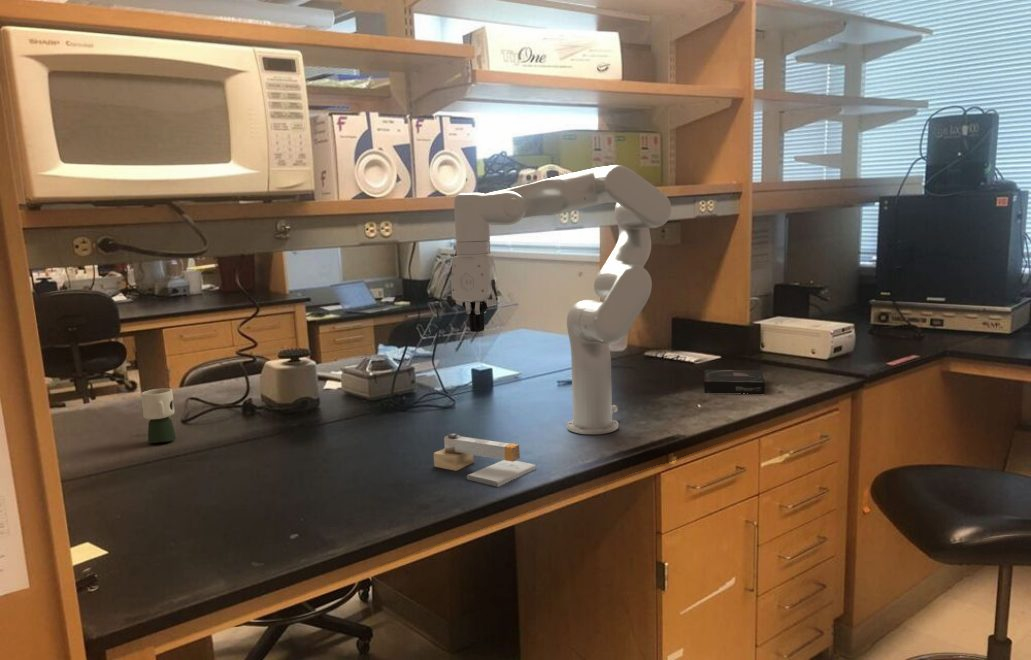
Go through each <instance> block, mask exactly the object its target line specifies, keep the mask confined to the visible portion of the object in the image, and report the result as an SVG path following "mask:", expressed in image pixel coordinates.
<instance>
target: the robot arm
mask: <svg viewBox="0 0 1031 660" xmlns="http://www.w3.org/2000/svg"><path fill="white" fill-rule="evenodd" d="M670 201H671V200H670V199H669V198H668V196H667V195H666V194H665V193H664V192H663V191H661V190H660V189H659V188H657V186H655V185H653V184H652V183H651V182H650V181H648V180H646V179H645V178H643V176H641V175H639V174H638V173H636V172H635V171H634V170H632V169H630V168H628V167H627V166H625V165H621V164H613V165H608V166H600V167H594V168H590V169H584V170H580V171H576V172H571V173H566V174H563V175H558V176H554V177H550V178H546V179H541V180H538V181H535V182H531V183H527V184H523V185H519V186H514V187H509V188H506V189H501V190H497V191H491V192H488V193H483V192H482V193H481V192H471V193H470V192H468V193H467V192H466V193H459V194H457V195H455V197H454V200H453V208H454V227H455V244H454V245H453V250H454V251H456V256H455V255H454V256H453V259H452V266H451V267H452V268H451V281H450V282H451V284H450V285H451V286H450V287H451V297H452V299H453V300H455V303H456V305H459V306H461V307H463V308H464V309H465V311H466V314H467V315H468V317H469V319H468V320H469V330H470V332H471V333H479V332H483V331H485V313H487V310H488V309H489V308H490V307H493V306H496V305H497V304H498V303H497V298H498V291H499V290H498V289H499V287H498V278H497V270H496V264H495V259H494V256H493V255H492V254H491V239H490V238H491V234H490V226H511V225H515V224H517V223H519V222H520V221H521V220H522V219H524V218H531V217H538V216H539V217H540V216H552V215H560V214H565V213H571V212H572V211H577V210H581V209H585V208H591V207H594V206H599V205H602V204H608V203H615V206H614V217H615V221H616V223H617V228H618V239H617V242H616V243H615V246H614V247H613V249H612V251H611V253H610V255H608V258H607V259H606V261H605V262H604V264H603V266H602V267H601V269H600V270H599V271H598V273H597V275H596V277H595V279H594V283H593V290H594V292H595V294H596V295H597V297H599V298H600V299H601V300H603V301H600V300H594V299H583V300H580V301H577V302H575V303H574V304H573V305H572V306H571V307H570V309H569V311H568V313H567V315H566V328H567V334H568V338H569V343H570V345H569V346H570V354H571V384H572V385H571V386H572V387H571V391H572V419H571V420H569V421H568V422H567V423H566V428H567V430H568V431H570V432H572V433H574V434H580V435H603V434H604V435H605V434H609V433H613V432H615V431H617V430H618V429H619V422H618V420H616V419H614V418H613V414H614V413H617V412H618V410H619V409H618V406H617V405H616V404H613V405H612V402H613V401H612V360H611V359H612V358H611V350H610V349H611V348H610V345H614V344H617V343H618V342H620V341H621V340H622V339H624V337H625V336H627V334H628V333H629V331H630V330H631V328H632V326H633V325H634V323H635V322H636V320H637V318H638V316H640V314H641V313H642V310H643V309H644V307H646V304H647V302H648V301H649V299H650V296H651V292H652V286H653V283H652V278H651V277H652V276H651V275H650V273H649V272H648V270H647V269H646V268H644V266H645V265H646V263H647V261H648V260H649V257H650V255H651V252H652V238H651V233H650V232H651V231H650V229H655V228H659V227H660V228H661V226H664V224H666V223H667V222H668V221H669V220H670V217H671V215H672V203H671V202H670Z"/></svg>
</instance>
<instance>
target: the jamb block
mask: <svg viewBox="0 0 1031 660" xmlns="http://www.w3.org/2000/svg"><path fill="white" fill-rule="evenodd" d="M474 462H475V461H474V455H470V454H464V453H457V452H446V451H445V447H444V448H442V449H440V450H438V451H435V452H433V464H434V465H433V466H434V467H436V468H440V469H445V470H451V471H459V470H461V469H463V468H465V467H467V466H470V465H473V463H474Z"/></svg>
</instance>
